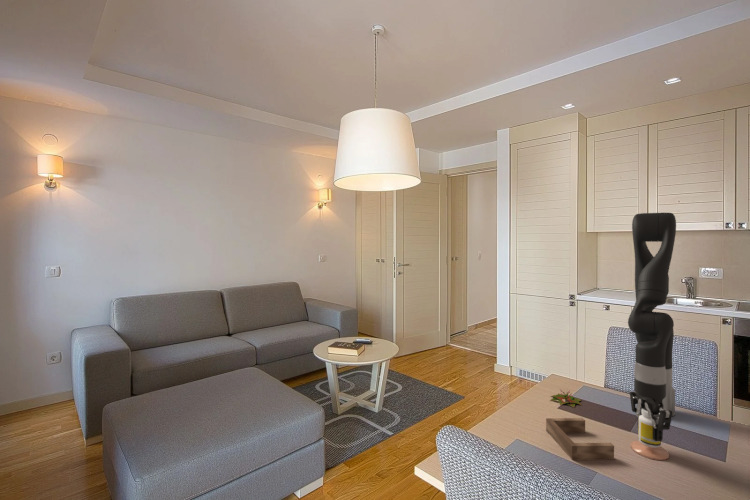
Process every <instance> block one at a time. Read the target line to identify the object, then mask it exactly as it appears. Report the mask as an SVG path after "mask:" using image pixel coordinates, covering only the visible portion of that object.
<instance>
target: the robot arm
mask: <svg viewBox="0 0 750 500" xmlns="http://www.w3.org/2000/svg"><path fill="white" fill-rule="evenodd" d="M631 232H632V242H633V251H634V288H635V289H634V291H635V303H634V305H633V308H632V310H631V312H630V314H629V316H628V319H627V325H628V328H629V330H630V331H631V332H632V333H634V334H635V340H636V341H637V343H636V345H635V361H634V362H635V363H634V369H633V370H634V371H633V372H634V373H633V375H634V376H633V379H634V380H633V383H634V384H633V385H634V386H633V387H634V388H633V389H634V390H633V391H629V399H630V405H631V411H632V413H635V416H636V417H637V420H638V419H639V416H640V415H642V413H641V411H642V408H643V409H644V410H646V411H647V412H648V416H649V419H651V421H652V424H653V440H655V441H661V442H662V441H663V435H664V434H663V433H664V430H665V431H668V430H669V431H670V428H671V422H672V418H673V417H675V416H676V390H675V388H674V387H673V347H674V336H675V335H674V327H675V326H674V325H675V324H674V319H673V318H672V316H671V315H670V314H668V313H666V312H661V311H654V310H655V309H656V308H657V307H658V306H662V305H665V304H666V302H667V296H668V295H669V292H670V291H669V290H670V285H669V284H670V283H669V282H670V276H669V270H670V265H671V261H672V257H673V252H674V246H675V239H676V232H677V219H676V216H675V214H674V213H673V212H641V213H636V214H635V215H634V216H633V219H632V221H631ZM647 242H648V243H649V242H650V243H651V242H653V243H655V242H657V243H658V242H659V243H661V245H660V247H659V249H658V251H657V252H656V254H655V255H653V254H652V253H651V251H650V249H649V247H648V245H647ZM653 415H658V416H657V417H654V416H653ZM656 420H658V424H657V423H656ZM637 426H638V422H637Z"/></svg>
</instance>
